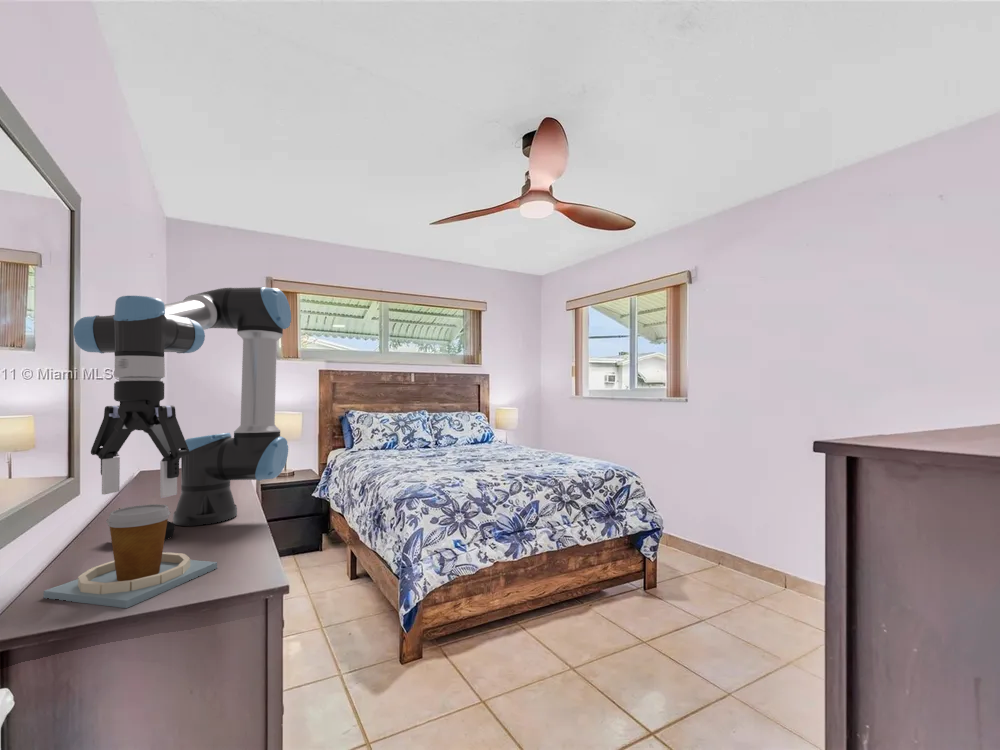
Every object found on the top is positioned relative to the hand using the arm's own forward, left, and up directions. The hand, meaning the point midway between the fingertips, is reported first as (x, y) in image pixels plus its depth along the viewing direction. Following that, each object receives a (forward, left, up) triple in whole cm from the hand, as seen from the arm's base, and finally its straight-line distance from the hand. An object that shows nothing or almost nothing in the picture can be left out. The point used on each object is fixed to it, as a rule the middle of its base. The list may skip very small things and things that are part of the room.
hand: (139, 494), depth 89 cm
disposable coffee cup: (0, 0, -15) cm, 15 cm away
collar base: (0, 0, -16) cm, 16 cm away
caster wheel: (-22, -24, -16) cm, 36 cm away
